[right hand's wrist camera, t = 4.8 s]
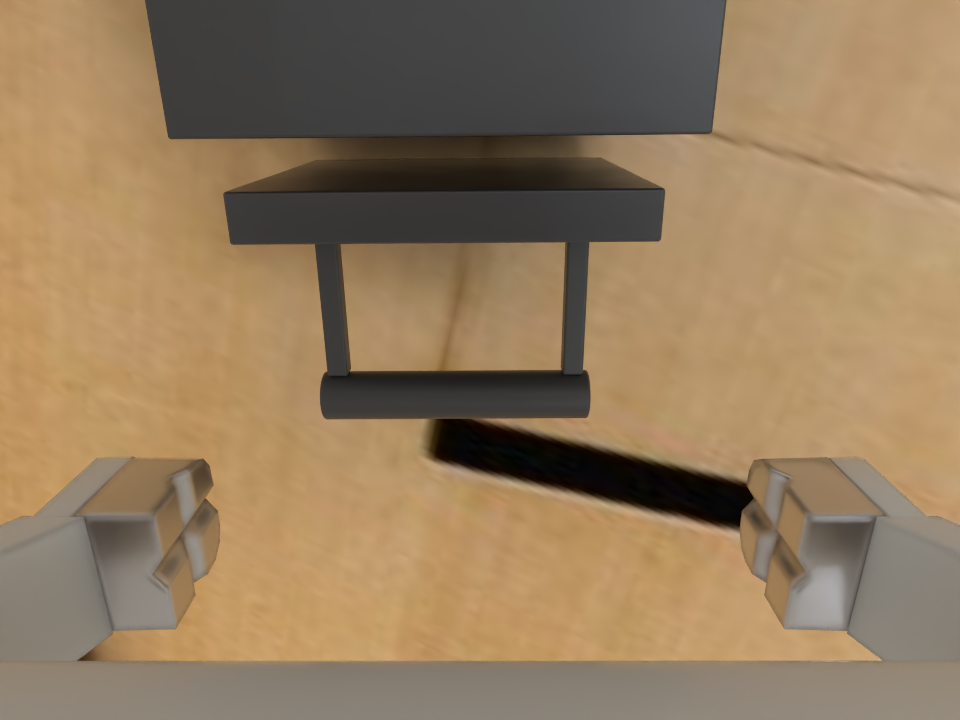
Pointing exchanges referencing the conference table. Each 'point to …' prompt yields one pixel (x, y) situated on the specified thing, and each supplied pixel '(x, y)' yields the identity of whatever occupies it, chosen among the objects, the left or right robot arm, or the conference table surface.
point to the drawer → (449, 219)
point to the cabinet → (436, 67)
